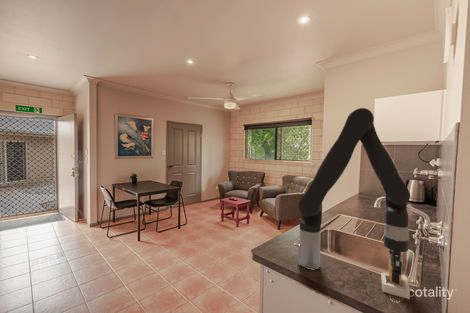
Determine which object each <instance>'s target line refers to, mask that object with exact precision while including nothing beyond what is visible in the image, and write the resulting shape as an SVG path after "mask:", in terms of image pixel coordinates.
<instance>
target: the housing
mask: <svg viewBox="0 0 470 313" xmlns="http://www.w3.org/2000/svg"><path fill="white" fill-rule="evenodd" d="M380 274H381V276H380V278H381V288H382V292H383V293H387V294H390V295H394V296H397V297H401V298H404V299H407V300H410V299H411V287H410V284H409V281H408V278H407V275H404V274H402V278H401V285H400V286H397V285H394V284H391V283H390V282H389V281H388V277H389V273H387V272H381V273H380ZM386 282H387V283H386Z"/></svg>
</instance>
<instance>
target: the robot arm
mask: <svg viewBox="0 0 470 313" xmlns="http://www.w3.org/2000/svg"><path fill="white" fill-rule="evenodd" d="M374 120H375V117H374V114H373V112H372V111H371V110H370V109H368V108H365V107H359V108H356V109H353V110H352V111H351V112H350V113H349V114H348V116H347V118H346V120H345V123H344V126H343V128H342V129H341V131H340V134H339V135H338V138H337V139H336V141H335V142H334V144H333V145H332V146H331V147H330V149H329V150H328V152H327V153H326V154H325V157H324V159H323V160H322V162H321V164H320V165H319V167H318V170H317V171H316V173H315V175H314V177H313V180H312V182H311V184H310V186H309V187H308V189H307V190H306V192H305V193H304V194H303V195H302V197H301V198H300V199H299V201H298V206H297V207H298V210H299V212H300V214H301V216H300V217H301V218H300V221H299V243H298V244H297V264H298V263H299V264H301V265H302V266H304V267H307V268H313V269H316V268H319V267H320V268H321V238H322V237H321V235H322V234H321V233H322V232H321V231H322V229H321V227H322V221H323V220H322V219H323V201H324V199H325V197H326V196H327V194H328V193H329V191H330V190H331V189H332V188H333V186H334V185H335V184H336V183H337V182H338V180H339V179H340V177H341V176H342V175H343V173H344V171H345V170H346V168H347V167H348V164H349V163H350V161H351V158H352V157H353V153H354V151H355V149H356V147H357V145H358V143H359V142H361V145H362V147H363V149H364V150H365V153H366V155H367V158H368V160H369V163H370V165H371V167H372V169H373V171H374V174H375V175H376V177H377V178H378V180H379V182H380V184H381V186H382V187H383V192H384V193H385V208H386V209H385V216H384V218H385V220H384V221H385V222H384V223H385V224H384V228H383V230H384V233H383V246H384V247H385V248H386V249H388V261H389V260H390V265H391V266H392V270H391V271H392V282H393V283H397V284H399V275H401V269H402V270H403V258H404V257H403V254H402V253H406V252H408V251H409V238H410V237H409V234H410V231H409V214H408V213H409V212H408V208H407V207H408V205H407V204H408V203H409V201H410V199H411V192H410V190H409V189H408V187H407V186H406V184H405V182H404V180H403V179H402V178H401V176H400V174H399V172H398V169H397V167H396V165H395V163H394V161H393V159H392V157H391V155H390V154H389V153H388V151H387V150H386V148H385V146H384V145H383V143H382V142H381V140H380V138H379V135H378V134H377V131H376V128H375V125H374V124H375V123H374V122H375V121H374ZM320 268H319V269H320ZM395 269H396V270H395Z"/></svg>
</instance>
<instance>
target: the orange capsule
mask: <svg viewBox="0 0 470 313" xmlns="http://www.w3.org/2000/svg"><path fill="white" fill-rule="evenodd" d="M391 270H392V266H391V265H390V260H389V259H388V274H389V277H388V281H389V282H390V283H391V284H394V285H397V286H400V285H401V278H402V275H403V274H402V272H403V271H402V270H403V268H402V269H401V275H399V284H397V283H393V282H392V271H391ZM395 270H396V269H395Z"/></svg>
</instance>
